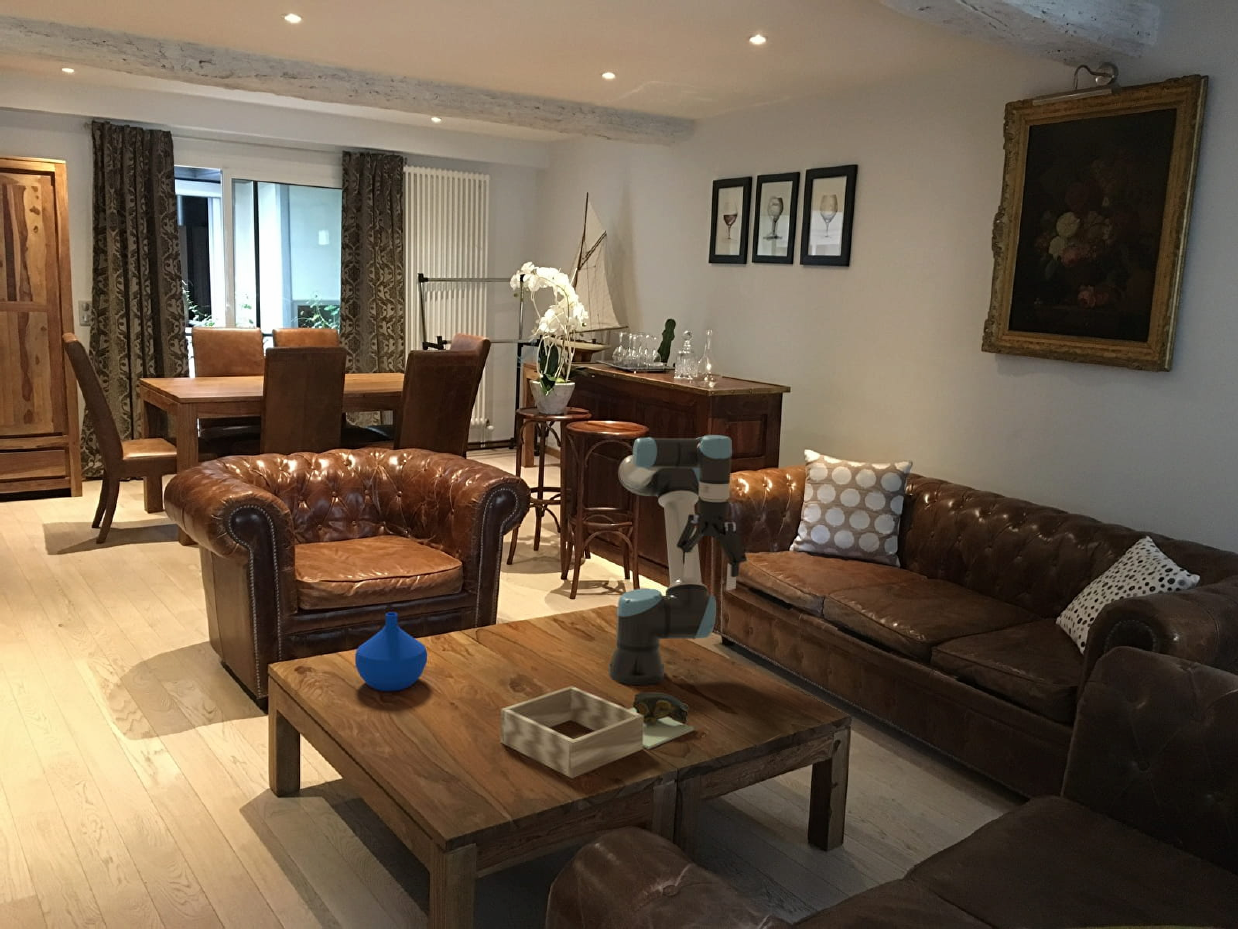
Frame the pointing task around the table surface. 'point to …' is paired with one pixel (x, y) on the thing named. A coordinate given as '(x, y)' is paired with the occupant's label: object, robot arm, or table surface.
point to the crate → (570, 757)
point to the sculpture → (660, 707)
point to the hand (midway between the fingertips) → (709, 583)
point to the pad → (662, 731)
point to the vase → (391, 658)
